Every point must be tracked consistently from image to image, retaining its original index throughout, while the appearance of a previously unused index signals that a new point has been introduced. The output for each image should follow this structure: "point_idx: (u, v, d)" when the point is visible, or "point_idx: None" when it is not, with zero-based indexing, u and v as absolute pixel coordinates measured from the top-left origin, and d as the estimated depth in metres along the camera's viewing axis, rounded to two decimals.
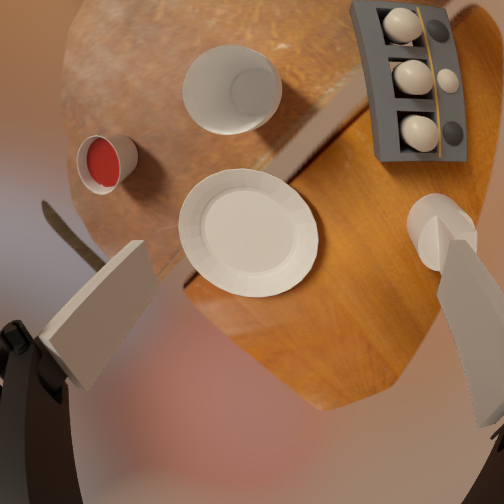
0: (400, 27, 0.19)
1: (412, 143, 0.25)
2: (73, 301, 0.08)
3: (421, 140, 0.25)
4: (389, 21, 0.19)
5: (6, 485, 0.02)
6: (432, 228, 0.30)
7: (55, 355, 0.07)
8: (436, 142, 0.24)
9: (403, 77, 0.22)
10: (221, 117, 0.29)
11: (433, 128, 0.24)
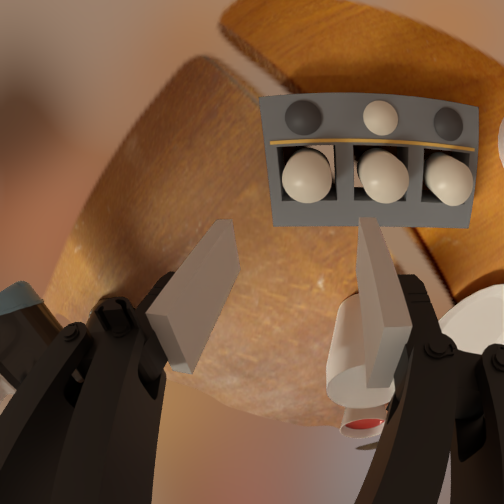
0: (315, 188, 0.22)
1: (462, 201, 0.19)
2: (179, 275, 0.09)
3: (460, 188, 0.19)
4: (307, 202, 0.23)
5: (66, 495, 0.03)
6: None
7: (165, 334, 0.08)
8: (464, 166, 0.18)
9: (386, 199, 0.21)
10: None
11: (449, 168, 0.18)
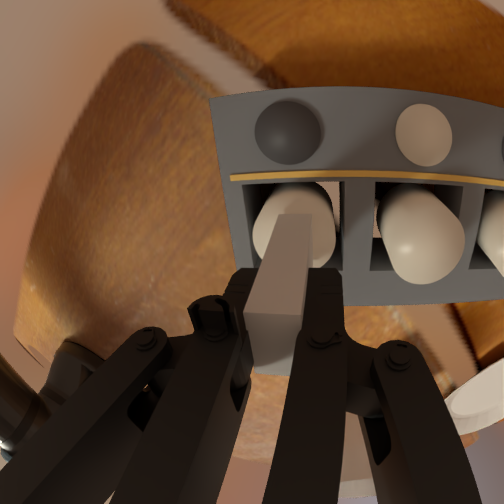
0: None
1: None
2: (266, 271, 0.09)
3: None
4: None
5: None
6: None
7: (260, 334, 0.08)
8: None
9: (425, 278, 0.12)
10: None
11: None
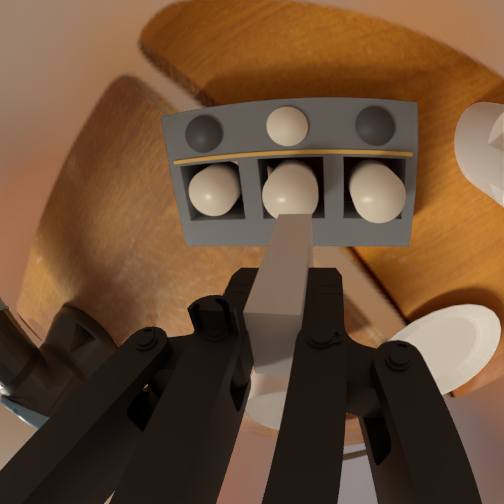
0: (219, 202, 0.23)
1: (392, 216, 0.19)
2: (266, 270, 0.09)
3: (388, 201, 0.18)
4: (214, 214, 0.24)
5: None
6: None
7: (261, 334, 0.08)
8: (393, 176, 0.17)
9: None
10: None
11: (371, 179, 0.18)
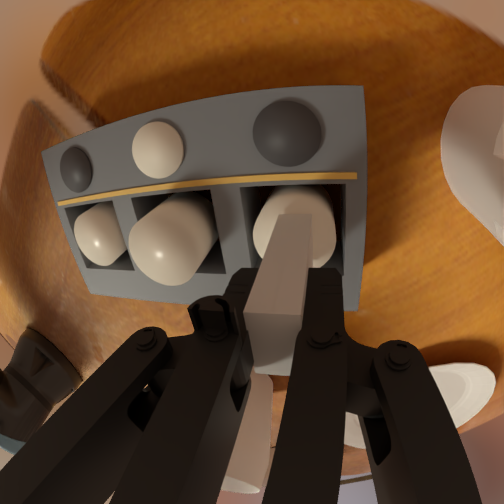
0: (104, 250, 0.17)
1: (316, 265, 0.14)
2: (266, 271, 0.09)
3: None
4: (102, 264, 0.18)
5: None
6: None
7: (261, 334, 0.08)
8: (311, 207, 0.12)
9: (171, 280, 0.15)
10: None
11: (277, 213, 0.13)
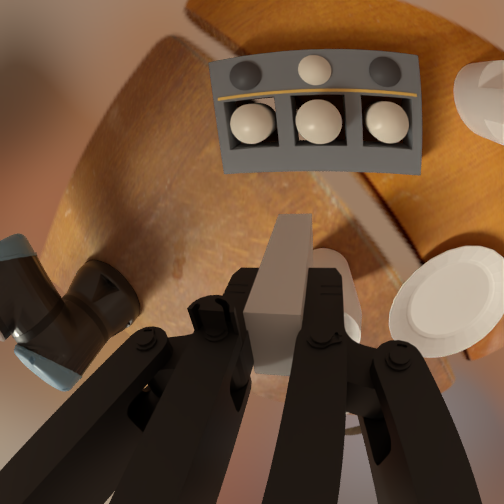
0: (257, 131, 0.25)
1: (399, 138, 0.22)
2: (266, 270, 0.09)
3: (395, 126, 0.22)
4: (251, 142, 0.26)
5: None
6: (497, 126, 0.16)
7: (261, 334, 0.08)
8: (397, 106, 0.21)
9: (321, 140, 0.23)
10: None
11: (381, 108, 0.21)
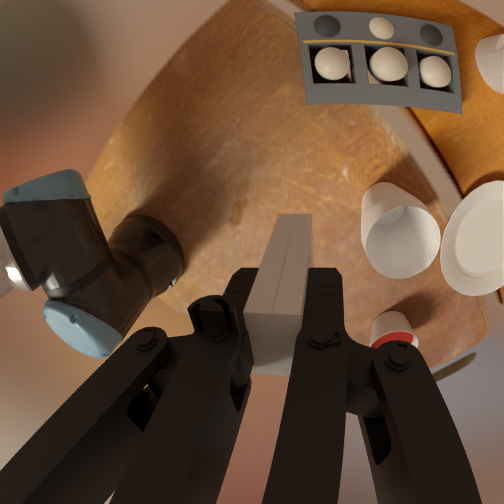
0: (338, 69, 0.26)
1: (445, 84, 0.23)
2: (267, 270, 0.09)
3: (442, 74, 0.22)
4: (333, 78, 0.26)
5: None
6: None
7: (261, 334, 0.08)
8: (442, 60, 0.21)
9: (393, 77, 0.23)
10: (408, 244, 0.33)
11: (431, 60, 0.22)
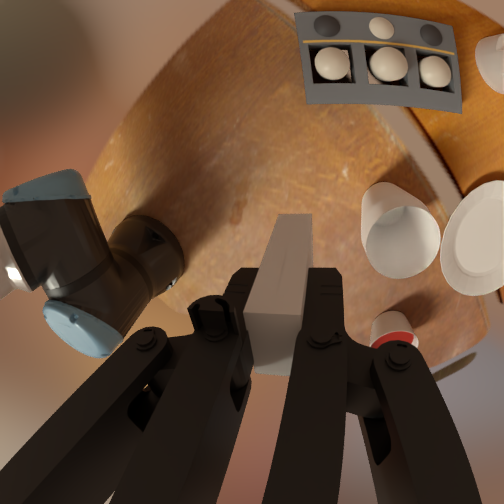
0: (338, 69, 0.26)
1: (445, 83, 0.23)
2: (266, 270, 0.09)
3: (442, 74, 0.22)
4: (333, 78, 0.26)
5: None
6: None
7: (261, 334, 0.08)
8: (442, 60, 0.21)
9: (393, 77, 0.23)
10: (408, 243, 0.33)
11: (431, 60, 0.22)
